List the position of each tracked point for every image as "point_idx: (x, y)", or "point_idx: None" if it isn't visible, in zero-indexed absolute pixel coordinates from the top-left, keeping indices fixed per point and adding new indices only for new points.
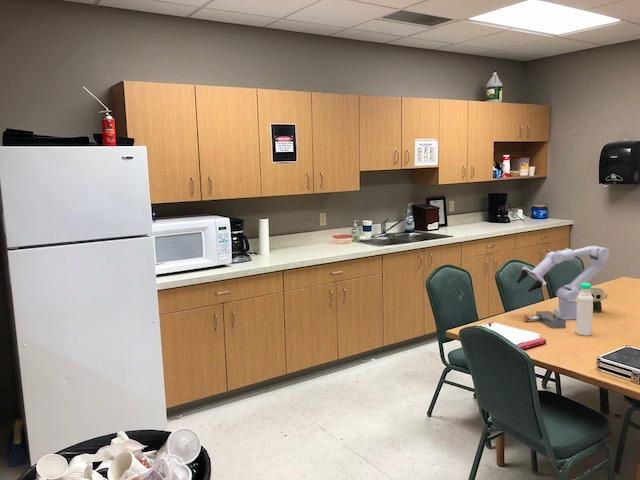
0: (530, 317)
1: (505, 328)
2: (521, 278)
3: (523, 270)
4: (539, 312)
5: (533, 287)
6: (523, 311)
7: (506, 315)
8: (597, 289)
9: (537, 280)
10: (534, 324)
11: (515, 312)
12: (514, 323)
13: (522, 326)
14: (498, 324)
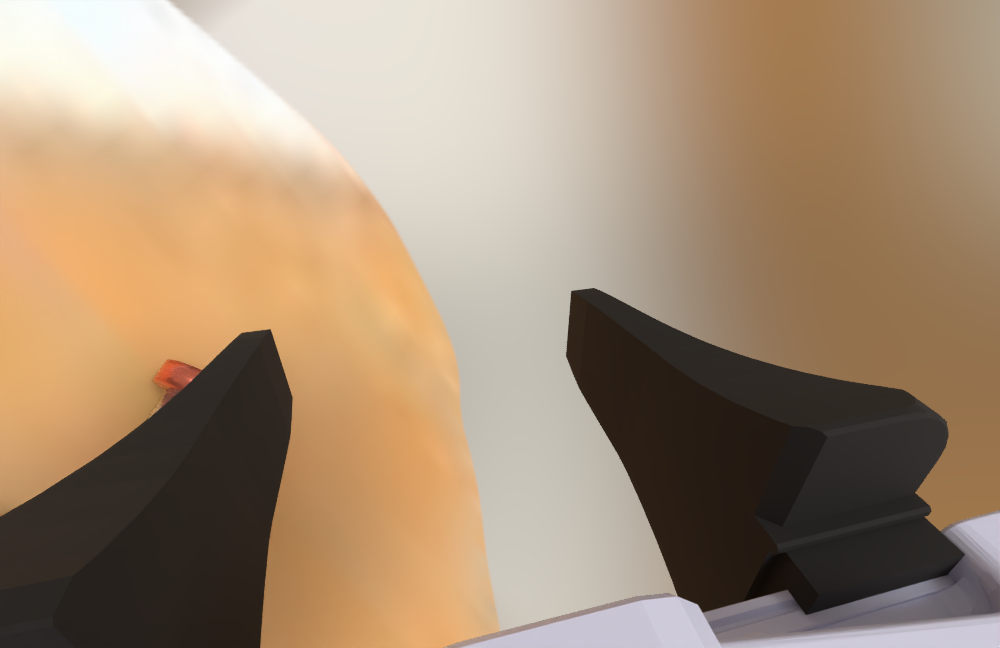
0: None
1: (159, 48)
2: (627, 373)
3: (891, 399)
4: None
5: (163, 410)
6: (451, 631)
7: (436, 399)
8: None
9: (43, 586)
10: (36, 378)
11: (461, 537)
12: (224, 248)
13: (84, 210)
14: (291, 129)
